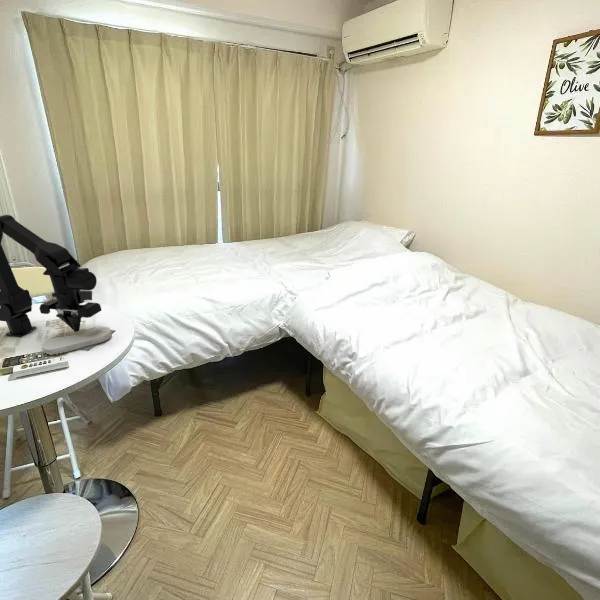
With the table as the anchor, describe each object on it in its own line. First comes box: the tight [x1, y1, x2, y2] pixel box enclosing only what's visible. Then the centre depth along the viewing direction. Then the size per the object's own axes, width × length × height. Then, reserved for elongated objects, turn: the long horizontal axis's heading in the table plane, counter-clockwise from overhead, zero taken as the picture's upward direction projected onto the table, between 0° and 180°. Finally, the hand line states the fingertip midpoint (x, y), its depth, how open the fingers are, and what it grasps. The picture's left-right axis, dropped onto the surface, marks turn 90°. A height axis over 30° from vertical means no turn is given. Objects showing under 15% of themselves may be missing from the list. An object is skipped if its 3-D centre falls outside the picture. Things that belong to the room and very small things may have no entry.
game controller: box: [41, 326, 113, 356], centre depth 121 cm, size 20×2×8 cm
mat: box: [78, 329, 116, 351], centre depth 125 cm, size 8×13×1 cm, turn 167°
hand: (77, 331), depth 125 cm, fingers closed
